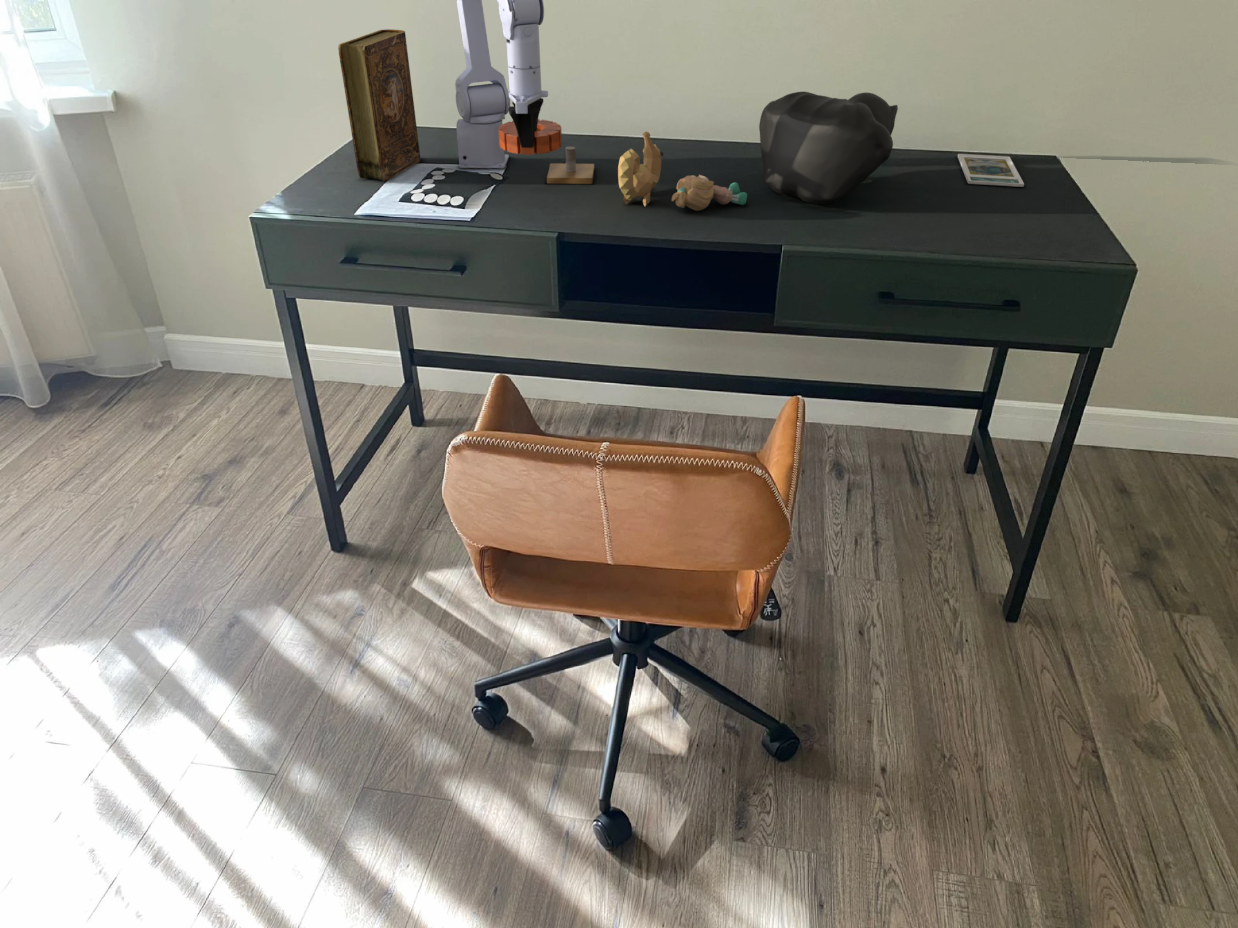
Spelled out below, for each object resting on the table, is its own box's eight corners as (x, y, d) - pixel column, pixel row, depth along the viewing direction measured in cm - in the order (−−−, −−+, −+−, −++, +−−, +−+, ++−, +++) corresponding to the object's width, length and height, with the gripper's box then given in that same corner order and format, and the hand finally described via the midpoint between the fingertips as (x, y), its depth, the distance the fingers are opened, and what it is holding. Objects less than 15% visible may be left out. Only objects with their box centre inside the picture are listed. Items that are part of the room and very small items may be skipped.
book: (400, 156, 193) (383, 29, 178) (423, 159, 192) (408, 30, 177) (359, 180, 180) (337, 45, 166) (383, 183, 179) (363, 47, 164)
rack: (546, 183, 179) (545, 154, 176) (550, 169, 187) (549, 141, 183) (592, 184, 179) (591, 155, 176) (594, 169, 187) (593, 141, 183)
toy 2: (756, 182, 167) (686, 163, 160) (749, 220, 168) (679, 204, 161) (732, 185, 174) (664, 168, 167) (726, 222, 175) (658, 206, 169)
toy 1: (608, 151, 157) (644, 120, 173) (608, 218, 165) (643, 182, 180) (637, 154, 156) (671, 122, 171) (636, 222, 163) (668, 186, 178)
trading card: (1009, 156, 193) (1024, 184, 178) (1008, 159, 193) (1023, 187, 179) (957, 153, 194) (968, 180, 180) (957, 156, 195) (967, 183, 180)
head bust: (729, 108, 167) (820, 47, 181) (735, 206, 182) (819, 142, 195) (860, 139, 152) (950, 69, 166) (856, 243, 166) (938, 171, 180)
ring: (496, 154, 167) (495, 136, 165) (504, 135, 177) (503, 118, 175) (558, 155, 167) (558, 137, 165) (563, 136, 176) (563, 119, 175)
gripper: (542, 75, 154) (546, 156, 162) (550, 57, 166) (553, 133, 174) (501, 75, 154) (506, 155, 162) (511, 56, 166) (516, 132, 174)
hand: (528, 144), depth 168 cm, fingers closed on ring, 3 cm apart
